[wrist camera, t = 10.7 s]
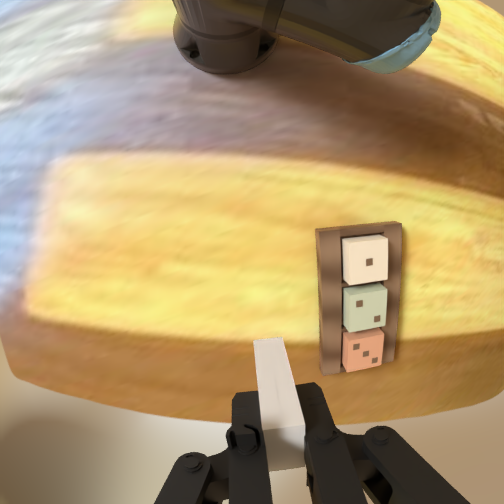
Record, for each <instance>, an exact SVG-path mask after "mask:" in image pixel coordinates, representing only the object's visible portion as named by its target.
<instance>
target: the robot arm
mask: <svg viewBox="0 0 504 504" xmlns="http://www.w3.org/2000/svg"><path fill="white" fill-rule="evenodd" d="M172 1H173V4H174V6H175V8H176V11H177V14H176V18H175V21H174V26H173V35H174V40H175V43H176V45H177V47H178V49H179V51H180V53H181V55H182V56H183V57H184V58H185V59H186V60H187V61H188V62H189V63H190V64H192V65H193V66H195V67H197V68H199V69H201V70H203V71H206V72H210V73H216V74H233V73H239V72H243V71H246V70H249V69H251V68H253V67H255V66H257V65H259V64H260V63H262V62H263V61H264V60H265V59H266V58H267V57H268V56H269V55H270V54H271V53H272V51H273V50H274V48H275V46H276V44H277V41H278V37H279V35H282V36H285V37H288V38H291V39H294V40H297V41H300V42H303V43H306V44H308V45H311V46H314V47H316V48H319V49H321V50H324V51H326V52H329V53H331V54H334V55H336V56H338V57H341V58H342V59H343V60H344V61H345V62H347V63H349V64H354V65H358V66H361V67H363V68H365V69H368V70H370V71H372V72H375V73H381V74H390V73H394V72H397V71H399V70H402V69H403V68H405V67H407V66H408V65H410V64H411V63H412V62H413V61H415V60H416V59H417V58H418V57H419V56H420V55H421V54H422V53H423V52H424V51H425V50H426V48H427V47H428V46H429V44H430V43H431V41H432V37H431V36H432V35H433V34H434V33H435V32H437V30H438V28H439V25H440V21H441V11H440V7H439V5H438V4H437V2H436V1H435V0H172ZM253 341H254V351H255V362H256V372H257V382H258V391H250V392H239V393H236V395H235V396H234V398H233V399H232V426H231V427H230V428H229V429H228V430H227V433H226V439H227V443H228V448H227V449H226V450H224V451H223V452H221V453H218V454H216V455H212V456H209V457H207V456H206V455H204V454H202V453H198V452H190V453H186V454H184V455H182V456H180V457H179V458H178V459H177V461H176V462H175V464H174V466H173V468H172V470H171V472H170V474H169V476H168V478H167V480H166V482H165V483H164V485H163V487H162V489H161V491H160V493H159V495H158V497H157V499H156V501H155V503H154V504H222V502H223V500H226V499H229V504H273V502H272V493H271V485H270V478H269V472H270V471H279V470H286V469H293V468H299V467H305V464H306V468H307V486H309V489H310V494H311V499H312V504H368V503H367V500H366V497H365V494H364V492H363V489H364V491H365V492H366V493H367V495H368V496H369V498H370V499H371V500H372V502H373V503H374V504H470V503H469V502H468V501H467V500H466V499H465V498H464V497H463V496H462V495H461V494H460V493H458V491H457V490H456V489H454V488H453V487H452V486H451V485H450V484H449V483H448V482H447V481H446V480H445V479H444V478H443V477H442V476H441V475H440V474H439V473H438V472H437V471H436V470H435V469H433V467H432V466H431V465H430V464H429V463H427V462H426V461H425V460H424V459H423V458H422V457H421V456H420V455H419V454H418V453H417V452H416V451H415V450H414V449H413V448H412V447H411V446H410V445H409V444H408V443H407V442H406V441H405V440H404V439H403V438H402V437H401V436H400V435H399V434H398V433H397V432H396V431H395V430H393V429H392V428H390V427H387V426H376V427H373V428H371V429H369V430H368V431H367V432H366V433H365V435H351V434H346V433H343V432H341V431H340V430H339V429H337V428H336V426H335V424H334V421H333V419H332V416H331V413H330V411H329V408H328V405H327V403H326V400H325V397H324V394H323V392H322V389H321V388H320V387H319V386H318V385H317V384H316V383H315V382H312V383H306V384H300V385H295V384H294V380H293V376H292V372H291V369H290V365H289V361H288V357H287V353H286V350H285V346H284V342H283V338H282V337H277V338H269V339H260V340H253ZM362 488H363V489H362Z"/></svg>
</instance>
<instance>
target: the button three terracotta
mask: <svg viewBox="0 0 504 504" xmlns="http://www.w3.org/2000/svg"><path fill="white" fill-rule="evenodd" d="M383 342H384V333H383V332H382V331H381V329H380V328H379V327H376V328H371V329H366V330H361V331H356V332H350V333H349V332H348V331H345V332H343V345H342V364H343V366H344V368H345V369H346V371H347V372H352V371H357V370H361V369H366V368H370V367H375V366H379V365H381V361H382V352H383Z"/></svg>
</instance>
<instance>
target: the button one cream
mask: <svg viewBox="0 0 504 504" xmlns="http://www.w3.org/2000/svg"><path fill="white" fill-rule="evenodd" d="M342 259H343V279H344V280H345V281H346V282H347V283H348V284H349V285H355V284H361V283H368V282H374V281H381V280H387V279H388V238H386V237H383V236H381V235H370V236H361V237H352V238H343V239H342Z"/></svg>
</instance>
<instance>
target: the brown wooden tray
mask: <svg viewBox="0 0 504 504" xmlns="http://www.w3.org/2000/svg"><path fill="white" fill-rule="evenodd" d="M315 232H316V248H317V268H318V291H319V328H320V370H321V373H322V375H323V376H325V375H331V374H336V373H341V372H346V369H345V368H344V366H343V364H342V345H343V332H345V331H348V330H347V329H346V327H345V326H344V324H343V288H348V287H355V286H361V285H368V284H374V283H380V284H382V285H383V286H384V287H385V288H386V289H387V307H386V322H385V326H381V327H379V328H380V329H381V331H382V332H383V333H384V342H383V352H382V361H381V364H383V363H387V362H391V361H393V359H394V352H395V344H396V335H397V325H398V314H399V301H400V284H401V257H402V223H399V222H396V221H391V222H381V223H370V224H360V225H350V226H340V227H330V228H320V229H315ZM370 235H381V236H383V237H386V238H388V279H387V280H381V281H374V282H368V283H361V284H355V285H349V284H348V283H347V282H346V281H345V280H344V279H343V259H342V239H343V238H352V237H361V236H370Z"/></svg>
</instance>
